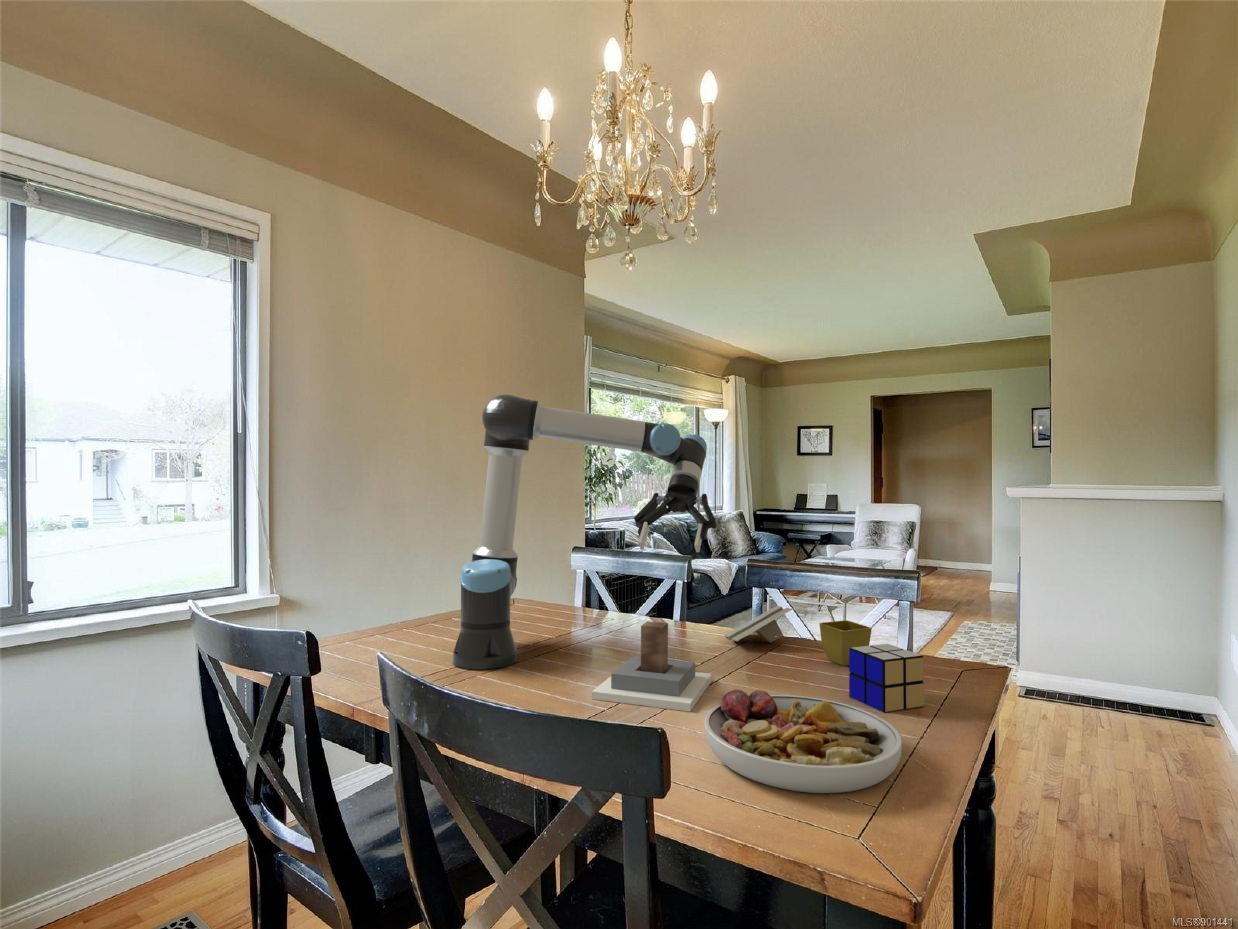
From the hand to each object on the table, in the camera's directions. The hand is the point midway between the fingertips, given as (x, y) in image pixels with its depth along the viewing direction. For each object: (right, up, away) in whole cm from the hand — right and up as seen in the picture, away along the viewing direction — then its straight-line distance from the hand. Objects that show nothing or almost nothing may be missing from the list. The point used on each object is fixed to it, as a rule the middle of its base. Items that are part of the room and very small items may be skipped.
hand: (668, 547), depth 155 cm
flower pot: (+42, -28, +3) cm, 51 cm away
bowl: (+17, -27, -50) cm, 59 cm away
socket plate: (-4, -27, -18) cm, 33 cm away
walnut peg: (-4, -26, -18) cm, 32 cm away
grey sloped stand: (+25, -29, +22) cm, 44 cm away
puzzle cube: (+41, -28, -24) cm, 55 cm away
